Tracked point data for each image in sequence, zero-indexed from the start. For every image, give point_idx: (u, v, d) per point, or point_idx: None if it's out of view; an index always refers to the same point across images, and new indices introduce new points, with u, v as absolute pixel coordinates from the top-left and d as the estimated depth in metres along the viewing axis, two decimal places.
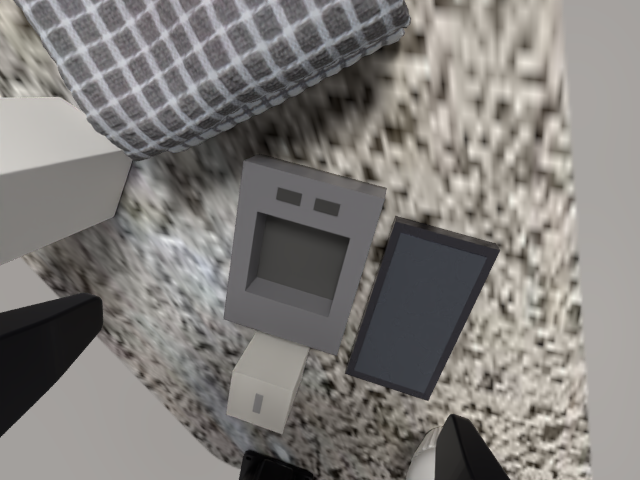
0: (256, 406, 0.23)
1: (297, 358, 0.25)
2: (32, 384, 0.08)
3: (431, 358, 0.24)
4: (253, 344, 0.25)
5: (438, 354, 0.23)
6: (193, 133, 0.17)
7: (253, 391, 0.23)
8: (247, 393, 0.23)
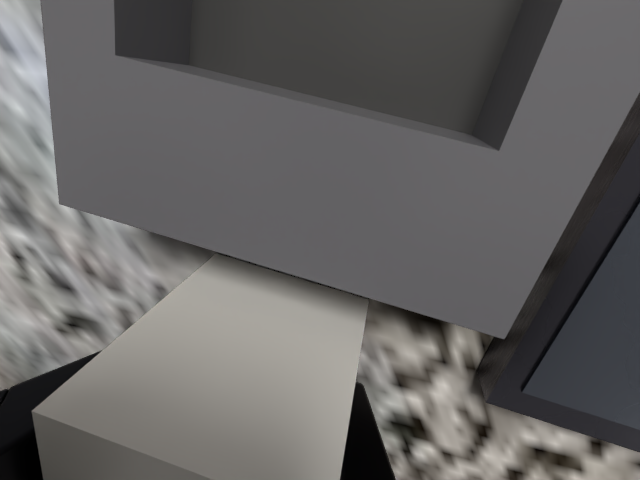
0: None
1: (333, 353, 0.07)
2: None
3: None
4: (175, 304, 0.07)
5: None
6: None
7: None
8: None
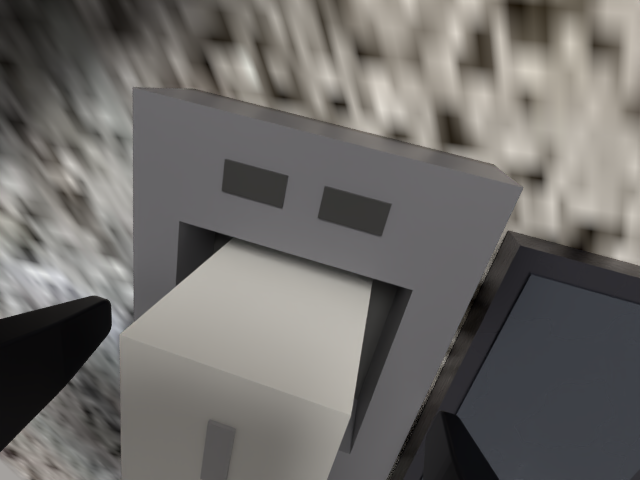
0: (213, 463, 0.07)
1: (346, 308, 0.08)
2: (42, 388, 0.08)
3: None
4: (214, 267, 0.08)
5: None
6: None
7: (198, 413, 0.06)
8: (180, 417, 0.06)
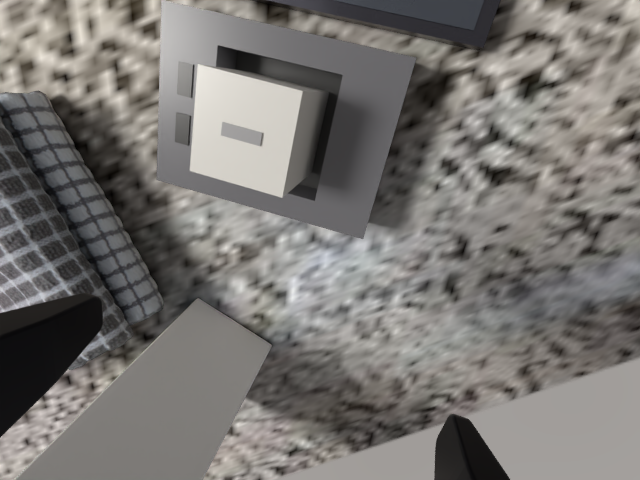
0: (249, 137, 0.14)
1: None
2: (32, 384, 0.08)
3: None
4: None
5: None
6: (78, 285, 0.18)
7: (220, 140, 0.14)
8: (225, 150, 0.14)
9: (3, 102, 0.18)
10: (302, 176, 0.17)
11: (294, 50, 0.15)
